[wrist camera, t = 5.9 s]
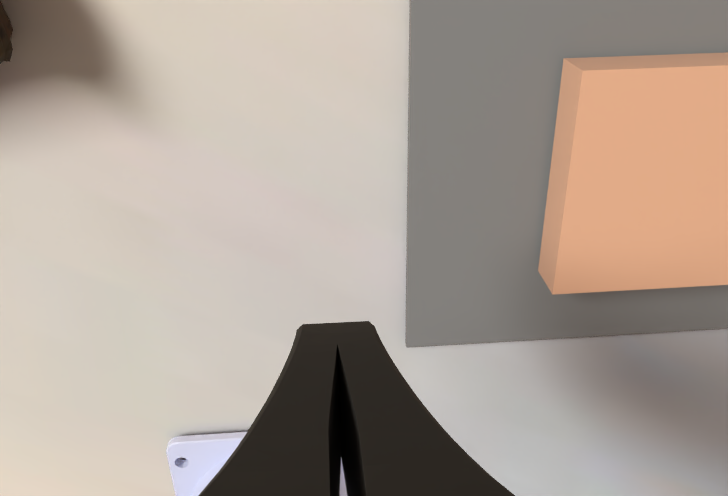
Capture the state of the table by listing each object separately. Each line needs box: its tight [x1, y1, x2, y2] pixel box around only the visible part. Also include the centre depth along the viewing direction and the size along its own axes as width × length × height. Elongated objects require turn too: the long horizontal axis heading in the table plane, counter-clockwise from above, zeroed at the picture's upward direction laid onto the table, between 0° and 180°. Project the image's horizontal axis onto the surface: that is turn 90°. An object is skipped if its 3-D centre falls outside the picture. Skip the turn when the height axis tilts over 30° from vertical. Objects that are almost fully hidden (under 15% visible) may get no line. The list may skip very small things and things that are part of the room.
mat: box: [406, 0, 728, 347], centre depth 21 cm, size 13×14×1 cm
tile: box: [538, 52, 728, 294], centre depth 20 cm, size 7×2×9 cm
